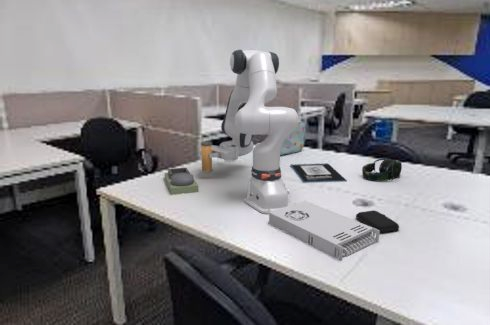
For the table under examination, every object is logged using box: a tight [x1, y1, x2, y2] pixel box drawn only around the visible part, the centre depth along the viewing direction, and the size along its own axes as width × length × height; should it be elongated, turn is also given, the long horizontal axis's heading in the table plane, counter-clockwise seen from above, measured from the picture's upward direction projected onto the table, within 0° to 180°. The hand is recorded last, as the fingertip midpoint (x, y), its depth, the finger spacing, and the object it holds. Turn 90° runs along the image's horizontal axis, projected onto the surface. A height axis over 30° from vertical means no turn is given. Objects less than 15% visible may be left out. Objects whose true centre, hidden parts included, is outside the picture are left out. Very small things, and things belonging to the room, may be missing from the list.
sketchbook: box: [290, 162, 348, 184], centre depth 197 cm, size 22×30×2 cm
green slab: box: [164, 167, 199, 196], centre depth 177 cm, size 24×12×6 cm, turn 18°
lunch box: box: [280, 120, 307, 156], centre depth 236 cm, size 27×10×21 cm, turn 130°
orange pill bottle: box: [200, 140, 213, 173], centre depth 184 cm, size 5×5×14 cm
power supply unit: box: [268, 200, 381, 261], centre depth 130 cm, size 19×33×5 cm, turn 38°
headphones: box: [361, 157, 403, 182], centre depth 189 cm, size 13×13×20 cm
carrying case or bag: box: [355, 209, 400, 234], centre depth 136 cm, size 11×3×15 cm
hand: (205, 154), depth 183 cm, fingers closed on orange pill bottle, 5 cm apart
